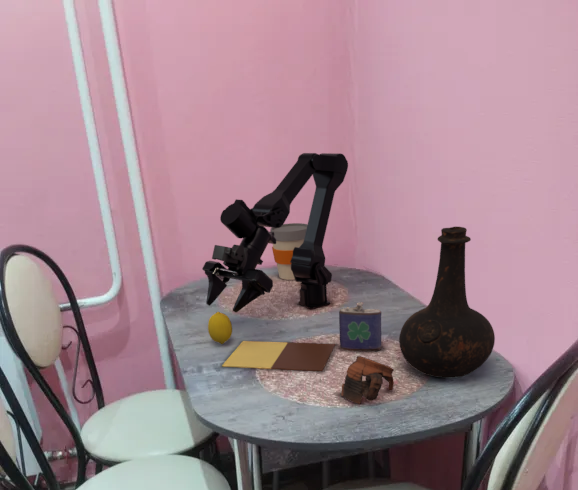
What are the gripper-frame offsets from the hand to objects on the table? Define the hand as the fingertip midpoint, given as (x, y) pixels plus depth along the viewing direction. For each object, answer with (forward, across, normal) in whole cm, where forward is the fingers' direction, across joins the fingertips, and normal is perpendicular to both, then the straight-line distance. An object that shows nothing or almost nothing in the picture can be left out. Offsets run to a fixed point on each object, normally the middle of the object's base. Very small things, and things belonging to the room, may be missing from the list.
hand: (220, 308), depth 138 cm
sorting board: (+5, +16, +7) cm, 18 cm away
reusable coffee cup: (-30, -24, +42) cm, 56 cm away
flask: (-4, +29, +16) cm, 33 cm away
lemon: (+7, 0, +6) cm, 9 cm away
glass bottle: (-5, +49, +17) cm, 52 cm away
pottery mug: (+8, +43, +4) cm, 44 cm away
